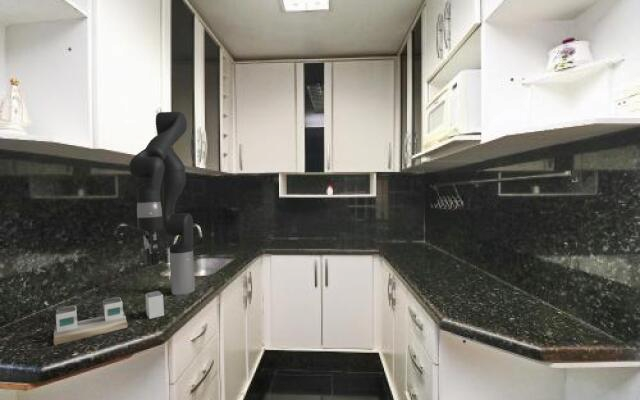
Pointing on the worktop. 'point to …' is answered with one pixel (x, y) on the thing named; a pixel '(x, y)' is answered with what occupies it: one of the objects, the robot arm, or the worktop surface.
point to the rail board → (88, 322)
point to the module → (154, 304)
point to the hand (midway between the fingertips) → (152, 262)
